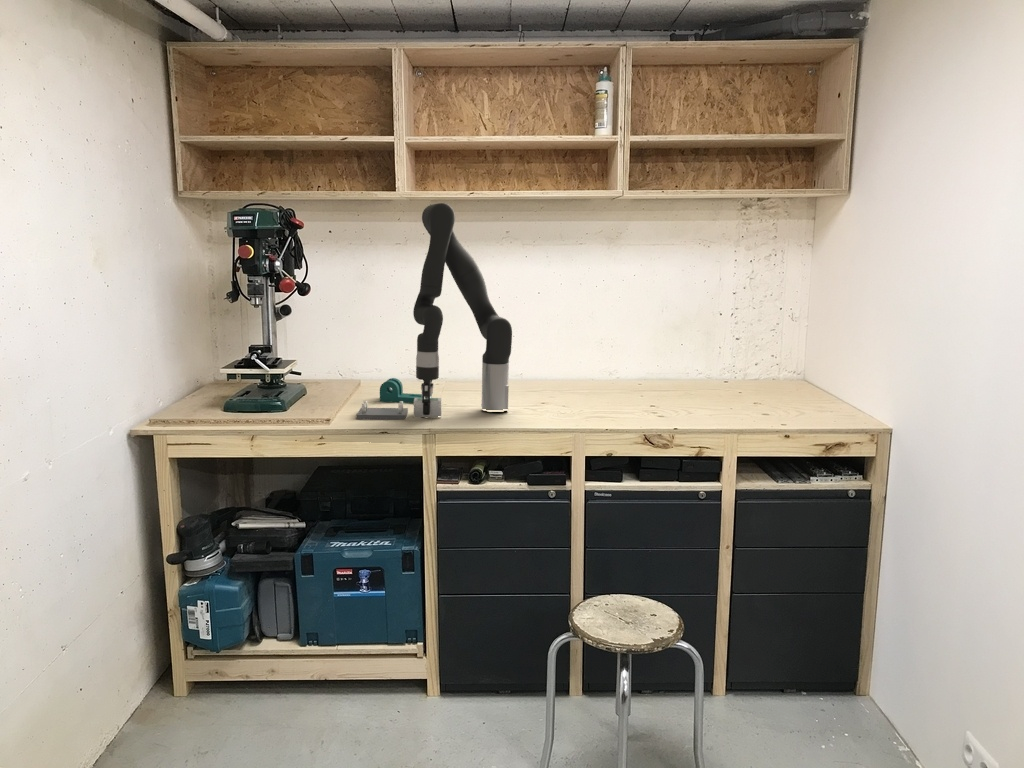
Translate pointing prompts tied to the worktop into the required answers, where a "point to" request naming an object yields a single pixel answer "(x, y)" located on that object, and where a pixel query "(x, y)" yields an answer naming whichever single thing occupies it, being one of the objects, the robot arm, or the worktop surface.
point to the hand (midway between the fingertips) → (427, 411)
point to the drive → (434, 407)
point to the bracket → (395, 392)
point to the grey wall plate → (382, 412)
